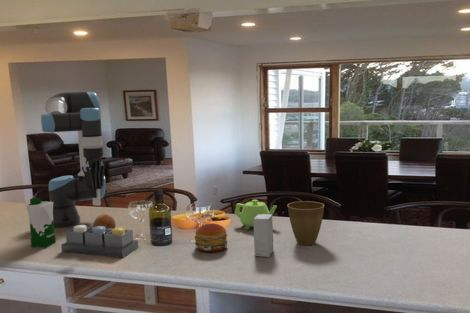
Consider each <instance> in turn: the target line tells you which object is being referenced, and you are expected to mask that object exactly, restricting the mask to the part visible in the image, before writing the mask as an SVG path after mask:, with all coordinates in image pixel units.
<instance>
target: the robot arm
mask: <svg viewBox="0 0 470 313" xmlns="http://www.w3.org/2000/svg"><path fill="white" fill-rule="evenodd" d="M44 106H45V112H46V113H42V114H41V115H40V122H41V123H40V124H41V131H42V132H43V133H50V134H51V133H53V134H54V133H62V132H63V133H64V132H67V133H68V132H77V138H78V151H79V165H80V171H79V172H78V174H77V177H75V178H74V176H73V175H62V176H59V177H55V178H52V179H50V180H49V182H48V192H49V194H48V195H49V202H53V222H54V228H65V227H70V226H74V225H75V226H76V225H77V224H78V225H79V223H80V222H81V216H80V214H79V212H78V209H77V207H76V202H81V201H91V200H92V206H101V204H102V201H101V199H103V198H104V197H105V192H106V176H105V167H106V164H107V163H106V162H105V161H103V160H102V157H103V156H104V148H103V147H102V146H104V145H103V144H104V143H103V134H102V111H101V106H100V100H99V96H98V95H97V93H96V92H94V91H75V92H74V91H72V92H71V91H70V92H68V91H67V92H64V91H63V92H60V93H57V94H54V95H53V96H52V95H51V97H50V98H48V99H47V100H46V102H45V105H44Z"/></svg>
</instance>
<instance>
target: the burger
mask: <svg viewBox="0 0 470 313" xmlns="http://www.w3.org/2000/svg"><path fill="white" fill-rule="evenodd" d="M193 238H194V241H195V242H194V245H195V246H196V248H197V249H198V250H199V251H201V252H206V253H207V252H208V253H209V252H210V253H212V252H218V251H222V250H224V249H227V247H228V239H227V238H228V234H227V230H226V228H225V227H224V226H223V225H221V224H218V223H205V224H202V225H200V226H199V227H198V228H197V229H196V230H195V235H194V237H193Z"/></svg>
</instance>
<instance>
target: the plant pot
mask: <svg viewBox="0 0 470 313" xmlns="http://www.w3.org/2000/svg"><path fill="white" fill-rule="evenodd" d="M287 210H288V217H289V222H290V226H291V229H292V233H293V235H294V238H295V241H296V244H298V245H300V246H313V245H315V244H316V242H317V239H318V236H319V233H320V230H321V226H322V223H323V217H324V210H325V203H321V202H317V201H309V200H308V201H307V200H306V201H305V200H304V201H302V200H301V201H292V202H290V203H288V204H287Z"/></svg>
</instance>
